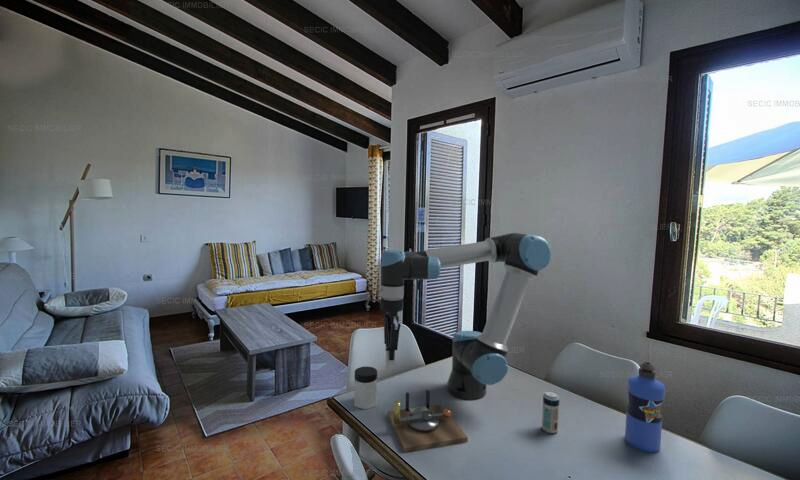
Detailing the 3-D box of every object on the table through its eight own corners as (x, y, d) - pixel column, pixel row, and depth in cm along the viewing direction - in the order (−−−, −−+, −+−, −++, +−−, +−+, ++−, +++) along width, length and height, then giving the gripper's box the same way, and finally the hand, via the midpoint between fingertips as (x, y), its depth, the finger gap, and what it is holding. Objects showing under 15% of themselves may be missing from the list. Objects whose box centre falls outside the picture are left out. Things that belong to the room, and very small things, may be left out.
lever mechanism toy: (441, 408, 131) (442, 387, 130) (467, 441, 112) (468, 418, 111) (387, 415, 125) (387, 394, 125) (404, 452, 106) (404, 427, 106)
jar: (359, 412, 127) (360, 378, 126) (349, 401, 134) (349, 369, 133) (382, 404, 132) (382, 372, 131) (371, 395, 139) (371, 364, 138)
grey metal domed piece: (444, 410, 126) (445, 388, 125) (457, 427, 116) (458, 402, 115) (389, 418, 120) (389, 395, 120) (397, 436, 111) (398, 411, 110)
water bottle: (618, 433, 117) (622, 356, 116) (647, 434, 117) (653, 357, 115) (635, 452, 108) (641, 369, 106) (668, 453, 108) (674, 370, 106)
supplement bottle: (557, 427, 120) (559, 391, 119) (558, 435, 116) (560, 398, 115) (541, 424, 122) (543, 389, 121) (541, 432, 117) (543, 396, 116)
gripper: (376, 293, 126) (374, 361, 127) (385, 303, 113) (383, 377, 115) (397, 293, 128) (395, 359, 129) (408, 302, 115) (406, 375, 117)
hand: (390, 368), depth 122 cm, fingers closed
